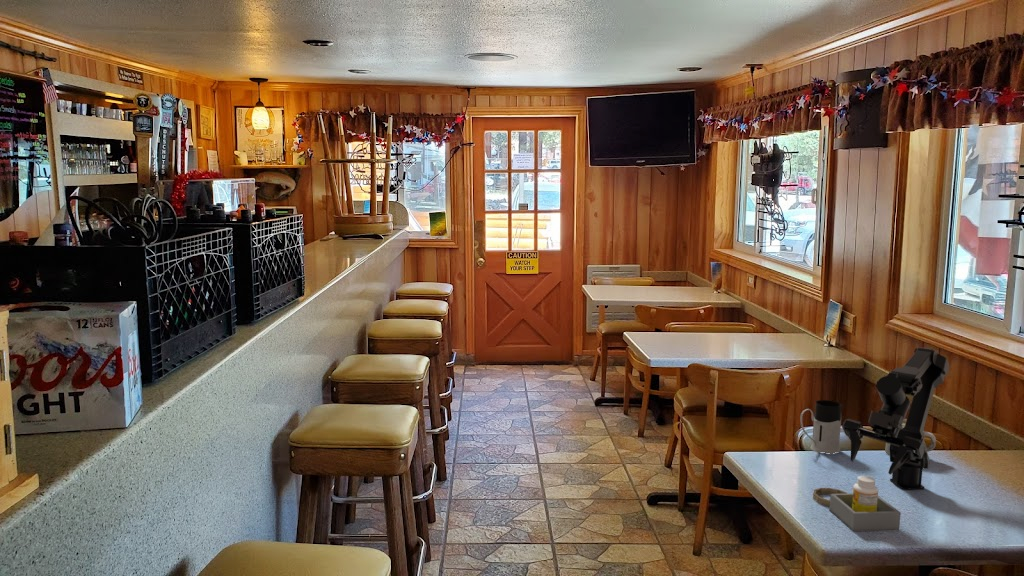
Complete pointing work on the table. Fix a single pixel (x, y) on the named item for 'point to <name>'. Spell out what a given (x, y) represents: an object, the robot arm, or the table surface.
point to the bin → (864, 514)
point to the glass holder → (825, 426)
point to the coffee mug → (924, 434)
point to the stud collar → (825, 491)
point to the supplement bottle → (865, 495)
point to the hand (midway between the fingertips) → (870, 467)
